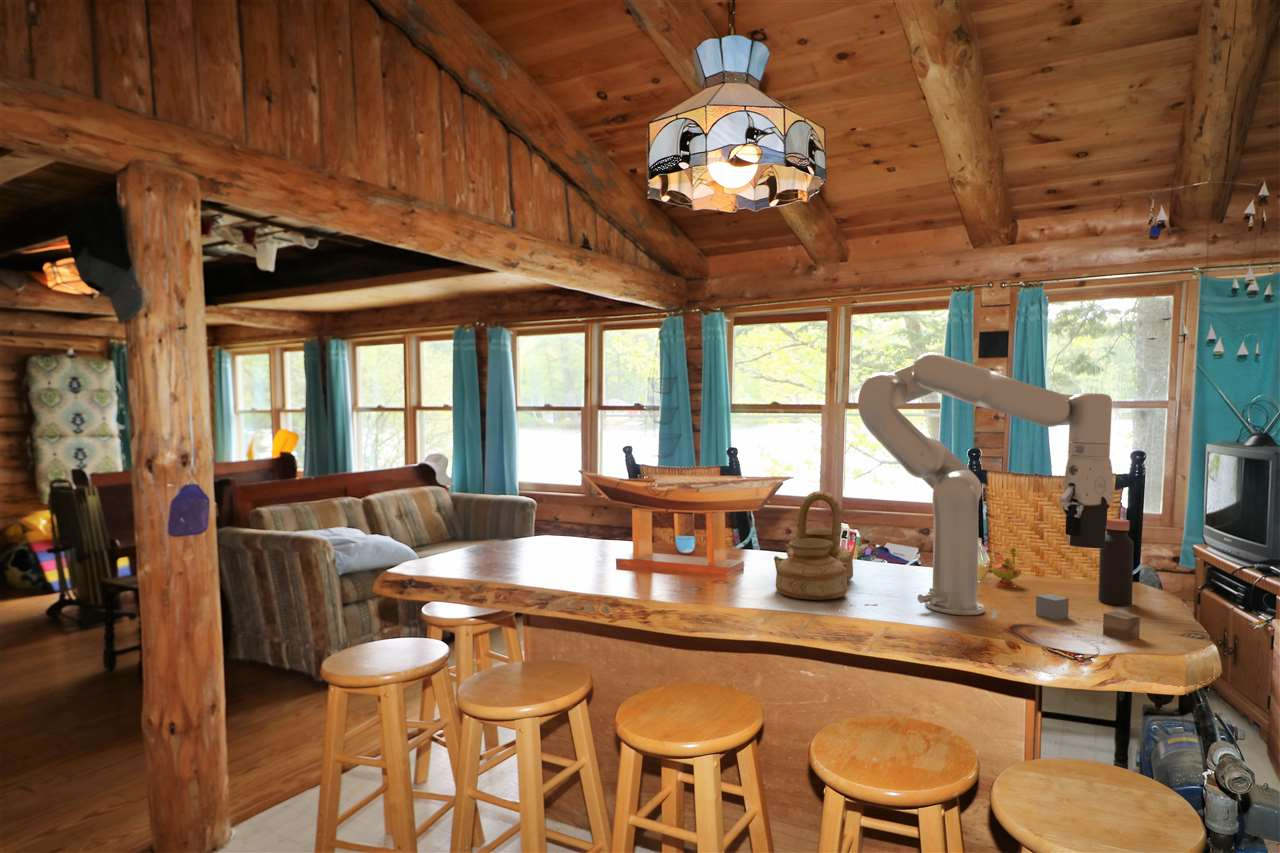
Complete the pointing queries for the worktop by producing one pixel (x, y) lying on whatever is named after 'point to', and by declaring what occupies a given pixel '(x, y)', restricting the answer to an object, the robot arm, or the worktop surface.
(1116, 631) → the walnut block
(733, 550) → the worktop surface
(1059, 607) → the grey block
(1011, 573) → the flower arrangement
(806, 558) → the ceramic vessel
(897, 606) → the worktop surface
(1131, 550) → the bottle
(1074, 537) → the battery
